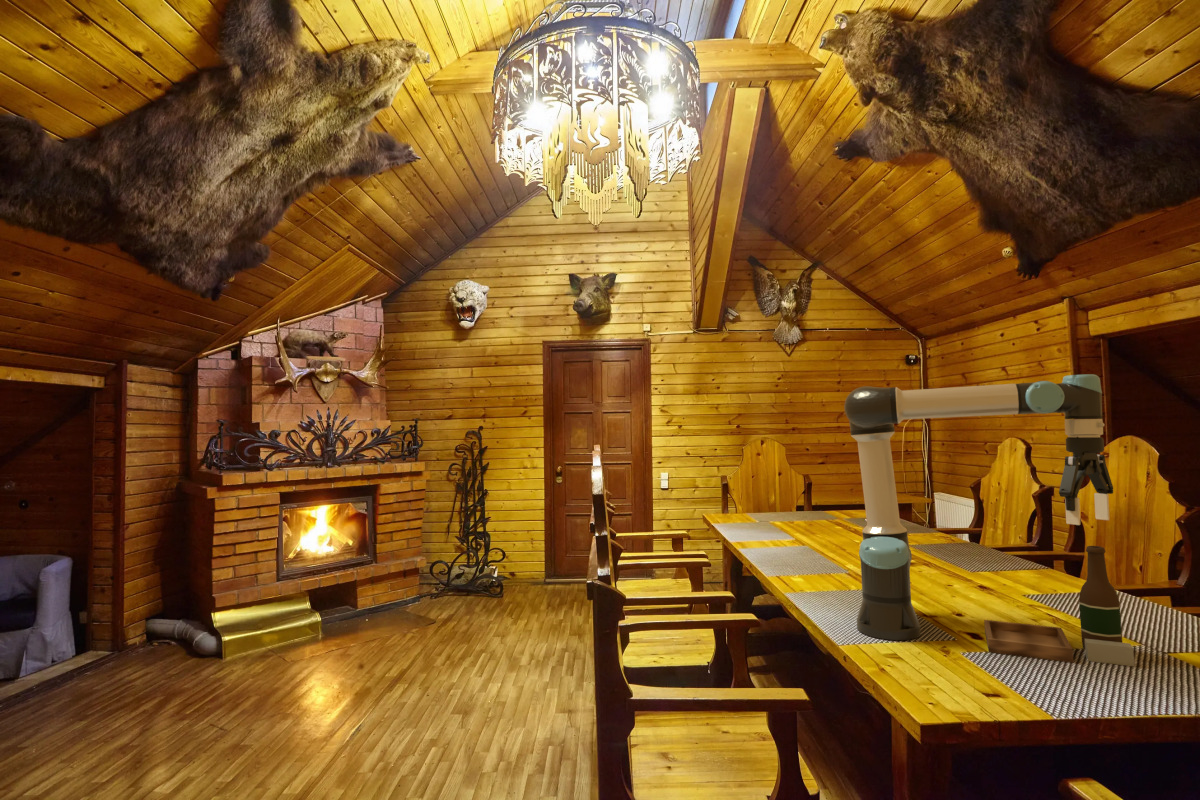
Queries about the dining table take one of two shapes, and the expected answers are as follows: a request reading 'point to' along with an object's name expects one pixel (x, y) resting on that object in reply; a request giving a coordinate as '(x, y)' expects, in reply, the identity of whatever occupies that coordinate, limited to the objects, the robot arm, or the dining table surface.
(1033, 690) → the dining table surface
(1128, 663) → the block
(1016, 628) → the tray
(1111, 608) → the beer bottle
